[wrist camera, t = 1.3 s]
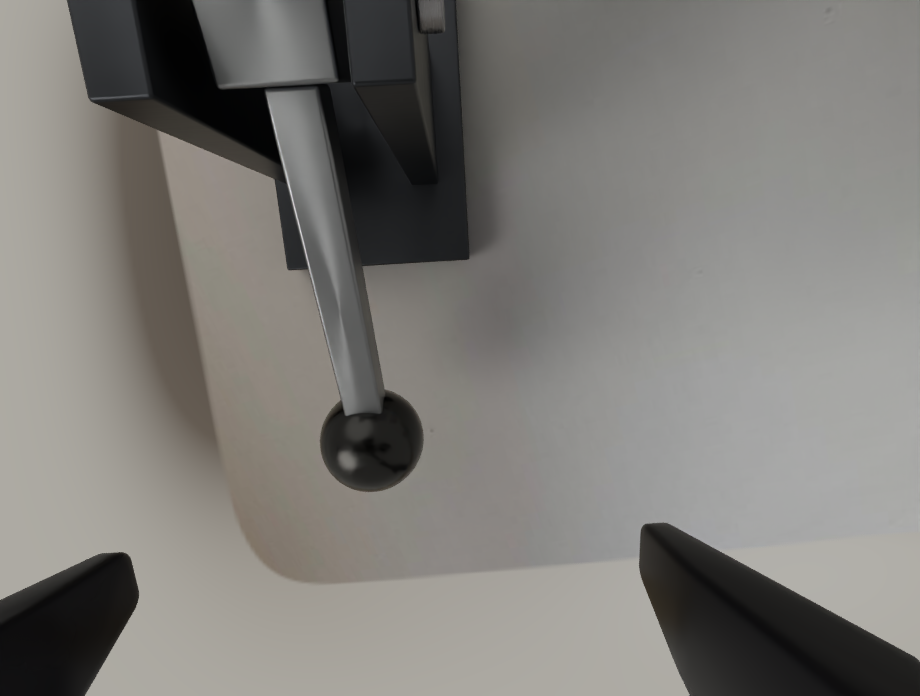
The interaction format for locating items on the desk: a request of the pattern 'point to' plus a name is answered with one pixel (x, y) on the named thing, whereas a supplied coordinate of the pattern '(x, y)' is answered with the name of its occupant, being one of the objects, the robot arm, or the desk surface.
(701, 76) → the desk surface
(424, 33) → the bracket
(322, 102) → the lever
